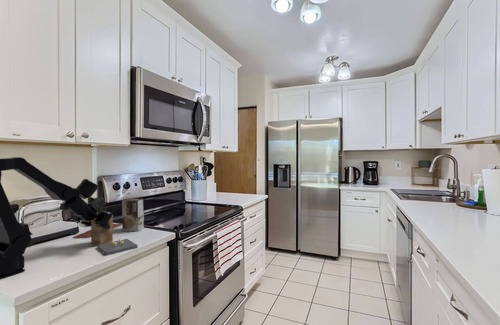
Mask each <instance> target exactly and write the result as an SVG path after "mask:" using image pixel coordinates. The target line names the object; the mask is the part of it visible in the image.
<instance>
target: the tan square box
mask: <svg viewBox="0 0 500 325" xmlns="http://www.w3.org/2000/svg"><path fill="white" fill-rule="evenodd" d="M113 217H114V215H113V216H112V217H111V218H110V220H109V221H108V223H109V225H110V227H111V228H110V229H106V228H101V227H97V226H96V224H95V220H96V219H94V221H91V226H90V230H91V237H90V242H91V243H90V244H91V245H94V246H97V245H100V244H104V243H109V242H112V241H113V240H114V238H113V236H114V234H113V232H114V230H113V229H114V228H113V224H114V222H113V221H114V220H113V219H114V218H113Z"/></svg>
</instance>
